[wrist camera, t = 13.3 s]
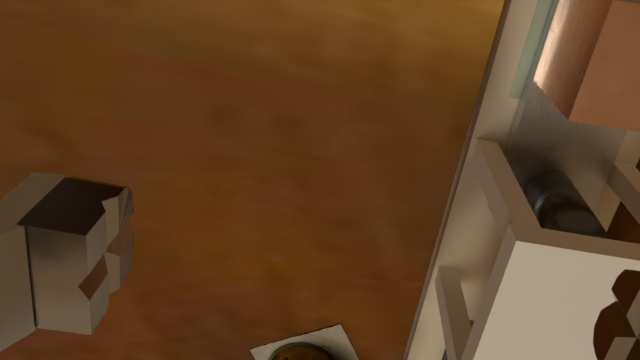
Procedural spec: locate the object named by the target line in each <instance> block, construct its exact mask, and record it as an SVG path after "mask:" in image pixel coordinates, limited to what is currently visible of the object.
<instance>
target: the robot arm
mask: <svg viewBox="0 0 640 360" xmlns="http://www.w3.org/2000/svg"><path fill="white" fill-rule="evenodd" d="M133 212H134V205H133V193H132V191H131V189H130V187H125V186H120V185H114V184H109V183H103V182H98V181H92V180H87V179H82V178H76V177H69V176H67V175H61V174H54V173H47V172H33V173H32V174H31V175H30V176H28V177H27V178H26V179H25V180H24V181H23V182H21V183H20V184H19V185H18V186H17V187H15V188H14V189H13V190H12V191H11V192H10V193H8V194H7V195H6V196H5V197H4V198H3V199H1V200H0V351H2V350H4V349H5V348H7V347H9V346H10V345H12V344H14V343H15V342H17V341H19V340H20V339H22V338H23V337H25V336H27V335H28V334H30V333H32V332H33V331H35V328H43V329H50V330H58V331H65V332H72V333H80V334H87V335H91V334H92V333H93V331H94V330H95V328H96V326H97V325H98V323H99V322H100V320H101V318H102V317H103V315H104V313H105V312H106V310H107V309H108V307H109V294H110V293H112V292H114V291H116V290H118V289H120V287H121V286H122V284H123V282H124V280H125V279H126V277H127V274H128V271H129V268H130V265H131V262H132V256H133V249H134V234H133V232H132V231H131V230H130V228H129V227H128V225H127V224H126V222H127V220H128V219H129V217H130V216H131V215H132V213H133ZM611 290H612V293H613V296H614V299H615V302H613V303H612V304H610V305H608V306H607V307H605V308H604V309H602V310H601V311H600V314H599V316H598V319H597V321H596V323H595V326H594V335H593V346H594V351H595V355H596V357H597V360H640V271H637V270H627V269H625V270H624V271H623V272H622V273H621V274H620V275H619V276H618V277H617V278H616V280H615V282H614V284H613V286H612V288H611Z"/></svg>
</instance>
